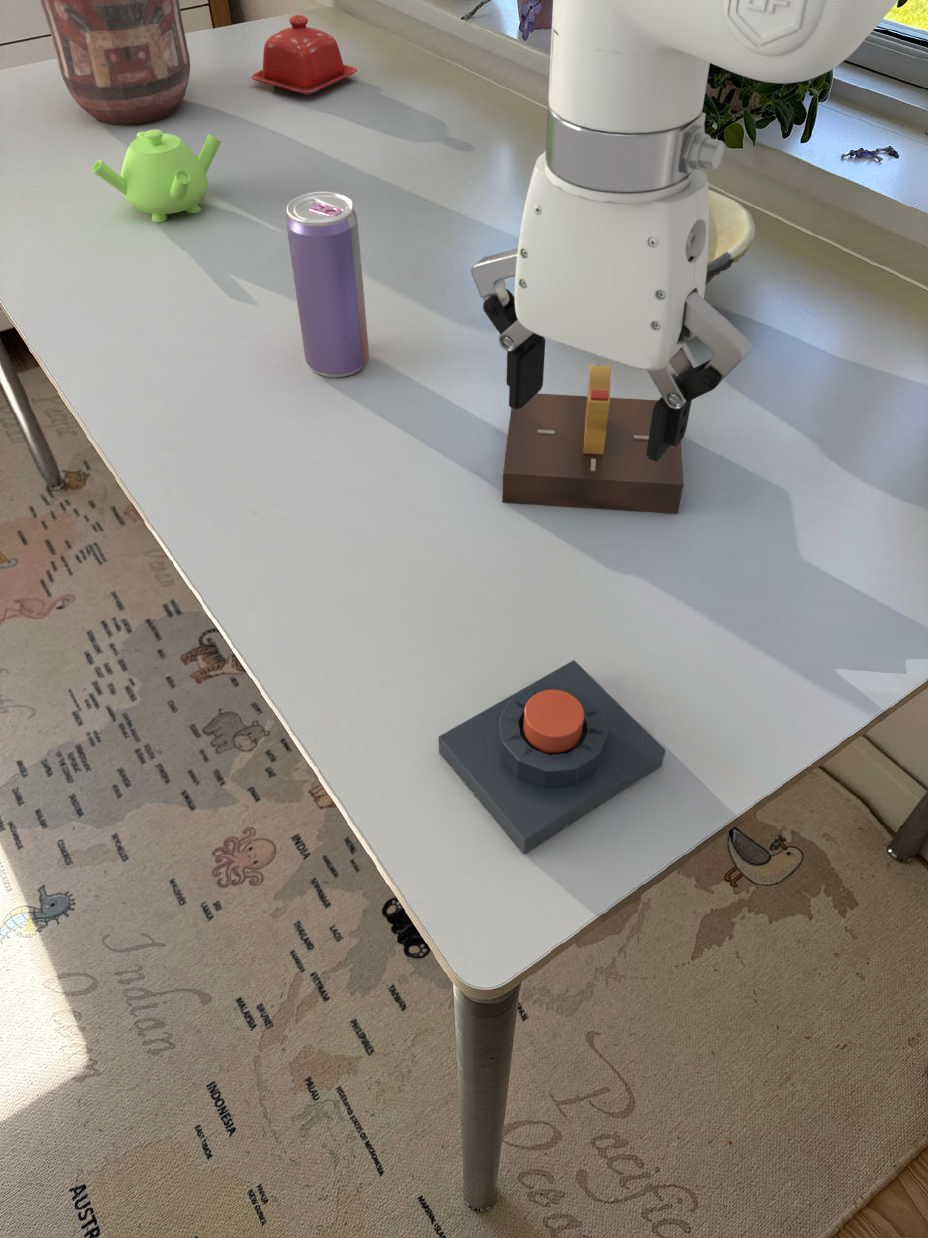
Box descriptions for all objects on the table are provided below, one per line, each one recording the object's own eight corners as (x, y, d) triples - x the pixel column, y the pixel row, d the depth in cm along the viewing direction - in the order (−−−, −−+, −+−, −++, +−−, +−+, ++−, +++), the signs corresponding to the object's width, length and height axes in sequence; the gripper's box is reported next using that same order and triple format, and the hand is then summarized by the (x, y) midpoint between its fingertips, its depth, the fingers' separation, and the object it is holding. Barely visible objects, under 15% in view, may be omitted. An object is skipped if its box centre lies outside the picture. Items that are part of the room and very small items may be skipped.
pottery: (228, 104, 137) (202, -50, 124) (121, 145, 128) (81, -16, 115) (149, 73, 145) (117, -74, 132) (43, 110, 136) (-3, -45, 123)
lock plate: (673, 429, 87) (678, 399, 85) (677, 513, 80) (684, 482, 77) (512, 420, 88) (513, 390, 86) (502, 502, 81) (503, 471, 79)
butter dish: (301, 62, 148) (294, -4, 142) (362, 78, 143) (357, 11, 137) (247, 86, 141) (237, 19, 135) (309, 104, 137) (301, 35, 131)
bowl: (550, 267, 106) (555, 177, 99) (719, 266, 106) (737, 175, 99) (562, 360, 94) (570, 265, 87) (754, 359, 95) (776, 263, 88)
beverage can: (344, 387, 92) (326, 229, 81) (293, 367, 94) (269, 211, 83) (382, 356, 95) (370, 200, 84) (331, 338, 97) (313, 184, 86)
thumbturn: (585, 416, 84) (590, 361, 80) (604, 417, 83) (610, 362, 80) (583, 453, 80) (588, 398, 76) (603, 454, 80) (610, 399, 76)
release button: (557, 697, 63) (559, 680, 62) (594, 735, 61) (596, 718, 60) (511, 724, 62) (512, 706, 61) (547, 763, 60) (549, 746, 59)
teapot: (146, 181, 121) (129, 107, 115) (235, 190, 119) (222, 116, 113) (103, 224, 114) (82, 147, 107) (197, 234, 112) (181, 157, 106)
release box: (572, 675, 69) (576, 641, 66) (662, 765, 64) (670, 732, 61) (438, 752, 64) (437, 719, 62) (523, 855, 59) (526, 823, 57)
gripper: (813, 154, 49) (745, 437, 62) (512, 85, 56) (506, 353, 68) (754, 214, 45) (693, 504, 58) (436, 131, 52) (444, 408, 64)
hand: (591, 422), depth 63 cm, fingers open, 9 cm apart
